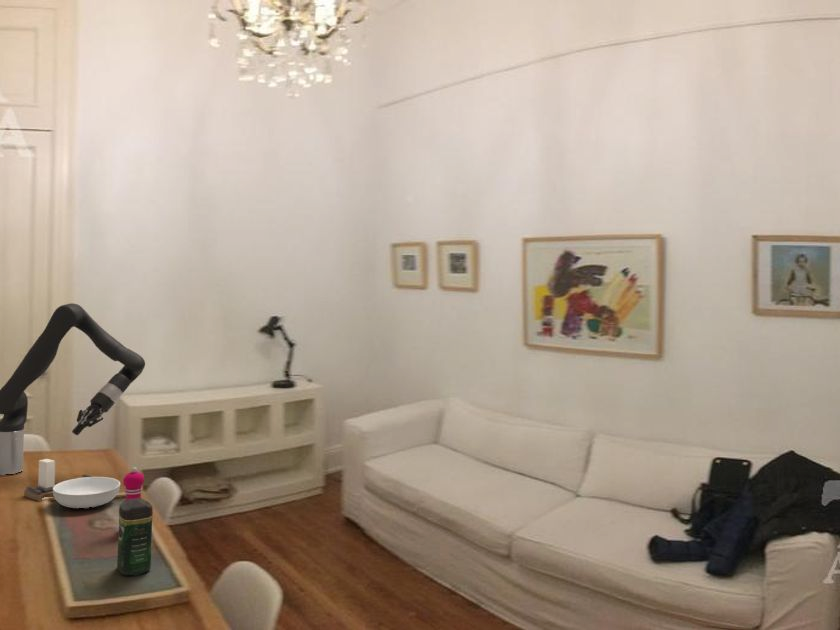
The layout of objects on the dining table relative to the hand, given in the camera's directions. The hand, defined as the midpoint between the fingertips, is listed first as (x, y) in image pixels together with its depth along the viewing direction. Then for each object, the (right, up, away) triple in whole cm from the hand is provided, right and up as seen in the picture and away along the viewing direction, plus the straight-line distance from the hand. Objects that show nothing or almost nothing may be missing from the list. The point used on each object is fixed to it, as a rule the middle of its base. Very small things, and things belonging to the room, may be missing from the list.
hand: (74, 433), depth 237 cm
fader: (-6, -18, -8) cm, 21 cm away
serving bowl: (+13, -22, -16) cm, 30 cm away
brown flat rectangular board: (-3, -21, -3) cm, 21 cm away
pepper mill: (+39, -23, -38) cm, 59 cm away
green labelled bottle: (+52, -25, -65) cm, 87 cm away
